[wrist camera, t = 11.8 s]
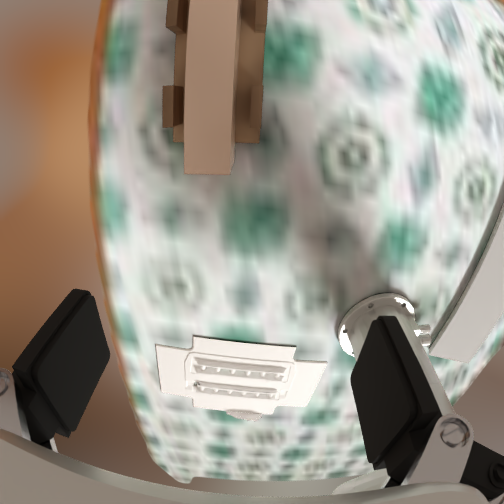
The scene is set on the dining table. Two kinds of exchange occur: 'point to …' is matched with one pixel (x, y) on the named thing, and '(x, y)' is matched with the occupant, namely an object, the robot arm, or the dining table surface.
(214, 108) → the clay strip
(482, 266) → the decorative molding
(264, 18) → the rack
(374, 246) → the dining table surface
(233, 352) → the tray
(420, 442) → the robot arm
